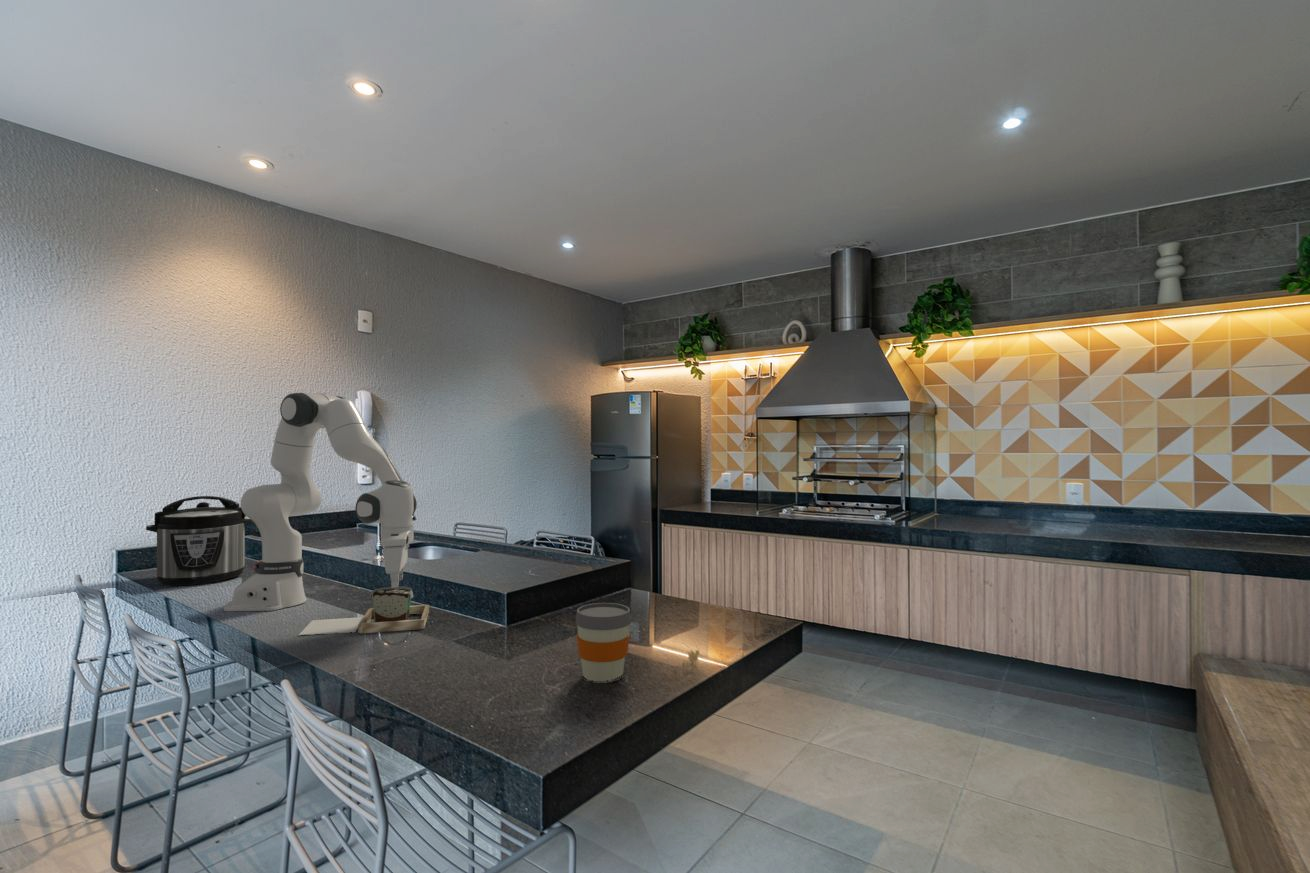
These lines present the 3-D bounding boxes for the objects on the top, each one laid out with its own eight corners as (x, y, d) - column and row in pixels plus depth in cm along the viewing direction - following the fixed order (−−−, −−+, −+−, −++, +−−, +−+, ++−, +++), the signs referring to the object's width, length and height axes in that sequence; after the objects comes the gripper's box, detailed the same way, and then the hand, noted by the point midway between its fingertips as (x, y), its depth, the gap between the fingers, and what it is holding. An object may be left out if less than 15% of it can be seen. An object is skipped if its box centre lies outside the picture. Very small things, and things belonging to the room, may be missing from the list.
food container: (420, 620, 180) (421, 586, 180) (410, 626, 173) (411, 591, 174) (381, 619, 181) (382, 585, 181) (369, 625, 175) (370, 590, 175)
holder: (358, 633, 167) (358, 624, 167) (369, 616, 183) (369, 608, 183) (424, 628, 171) (424, 620, 171) (429, 612, 188) (429, 604, 188)
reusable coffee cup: (584, 690, 129) (585, 620, 129) (568, 670, 141) (569, 605, 141) (638, 681, 134) (639, 613, 134) (619, 663, 146) (619, 600, 146)
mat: (298, 636, 164) (298, 634, 164) (312, 621, 177) (312, 620, 177) (355, 632, 168) (355, 630, 168) (364, 618, 181) (364, 616, 181)
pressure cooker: (129, 588, 217) (130, 499, 217) (188, 571, 245) (189, 493, 245) (214, 588, 217) (216, 499, 218) (263, 571, 246) (264, 493, 246)
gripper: (390, 531, 187) (390, 577, 186) (380, 541, 167) (380, 592, 167) (412, 531, 188) (412, 575, 188) (404, 540, 169) (404, 590, 168)
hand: (397, 583), depth 177 cm, fingers open, 8 cm apart
